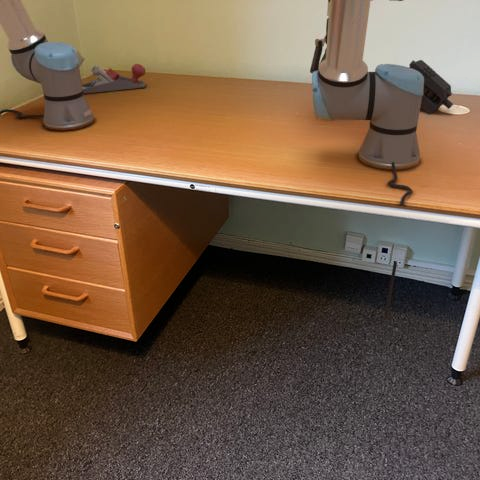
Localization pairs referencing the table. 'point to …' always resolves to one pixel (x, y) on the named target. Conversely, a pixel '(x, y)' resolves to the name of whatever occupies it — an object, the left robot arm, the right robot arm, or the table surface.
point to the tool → (432, 87)
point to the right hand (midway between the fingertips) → (334, 95)
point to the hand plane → (112, 79)
